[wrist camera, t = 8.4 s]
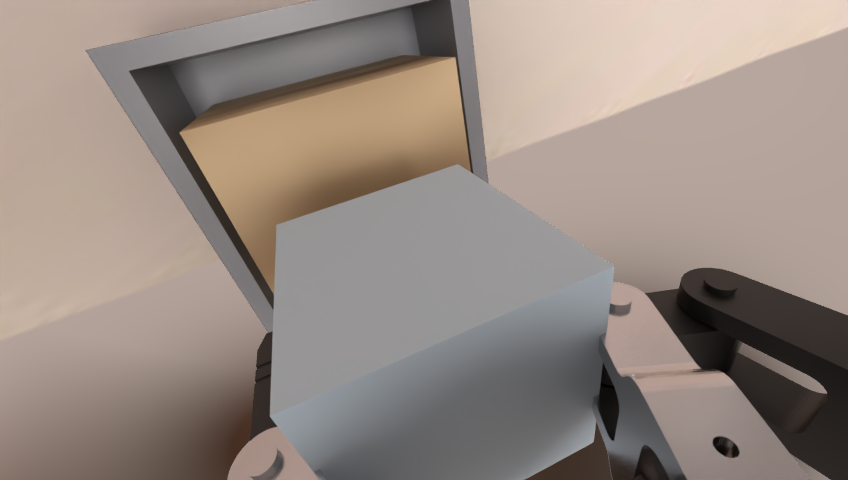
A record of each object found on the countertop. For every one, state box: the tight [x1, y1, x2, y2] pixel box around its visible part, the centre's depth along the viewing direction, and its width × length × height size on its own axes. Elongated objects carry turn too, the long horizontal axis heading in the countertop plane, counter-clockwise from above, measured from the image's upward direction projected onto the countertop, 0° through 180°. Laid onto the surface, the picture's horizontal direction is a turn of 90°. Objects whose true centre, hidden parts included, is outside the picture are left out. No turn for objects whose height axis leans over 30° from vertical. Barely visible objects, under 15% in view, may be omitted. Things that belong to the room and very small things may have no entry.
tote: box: [86, 0, 489, 333], centre depth 19 cm, size 16×14×6 cm
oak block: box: [179, 55, 471, 294], centre depth 18 cm, size 10×10×7 cm
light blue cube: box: [270, 164, 614, 480], centre depth 9 cm, size 6×6×6 cm
